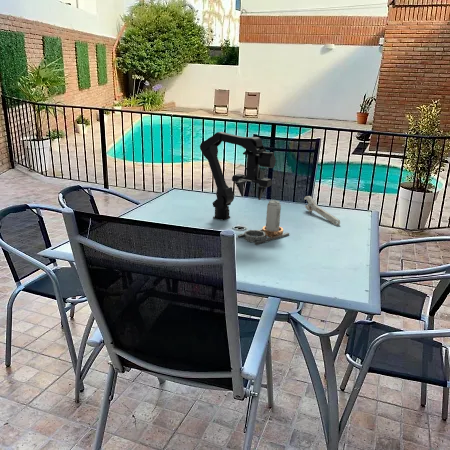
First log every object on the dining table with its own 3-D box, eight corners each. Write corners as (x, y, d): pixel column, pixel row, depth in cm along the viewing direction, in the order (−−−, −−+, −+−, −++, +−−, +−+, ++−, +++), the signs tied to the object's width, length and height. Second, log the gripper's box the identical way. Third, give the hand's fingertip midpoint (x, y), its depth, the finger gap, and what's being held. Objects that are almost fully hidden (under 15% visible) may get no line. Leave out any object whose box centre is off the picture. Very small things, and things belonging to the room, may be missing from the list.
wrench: (335, 231, 209) (302, 208, 234) (338, 231, 210) (305, 208, 235) (338, 216, 206) (304, 194, 231) (342, 216, 207) (307, 194, 231)
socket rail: (256, 245, 179) (256, 239, 178) (237, 237, 187) (237, 232, 186) (289, 235, 192) (289, 230, 191) (270, 228, 200) (270, 223, 200)
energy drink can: (268, 230, 197) (270, 199, 192) (280, 233, 195) (283, 201, 190) (263, 234, 192) (265, 202, 187) (276, 236, 189) (278, 204, 185)
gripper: (278, 165, 198) (276, 198, 202) (244, 160, 207) (242, 192, 212) (267, 168, 189) (265, 203, 194) (231, 163, 198) (230, 196, 203)
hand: (250, 198), depth 201 cm, fingers open, 9 cm apart
